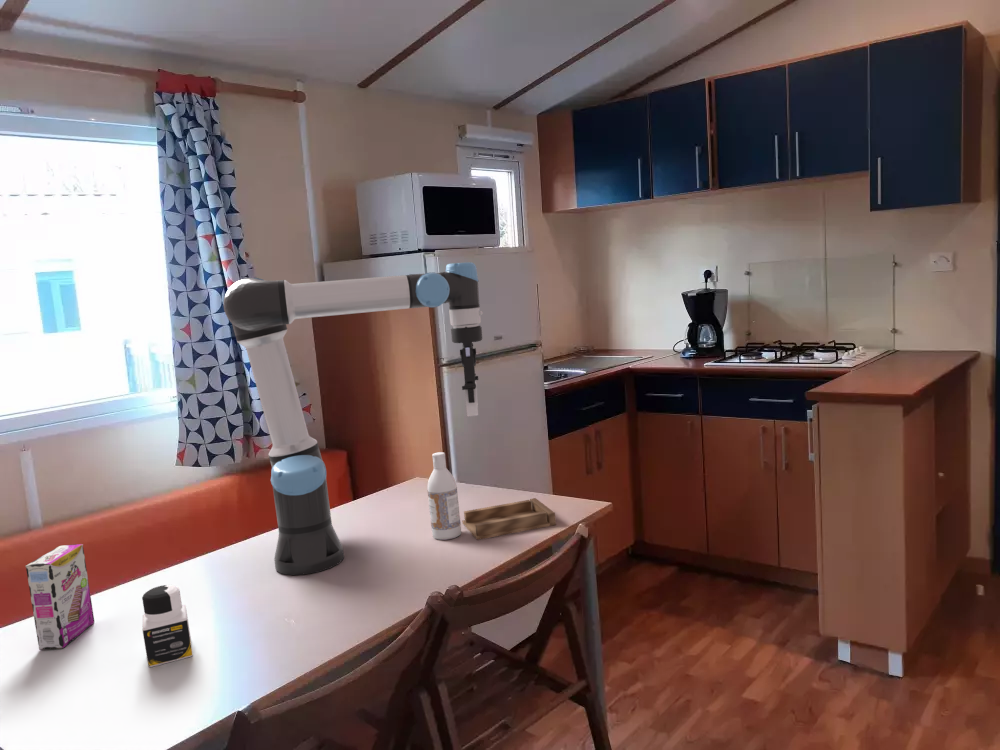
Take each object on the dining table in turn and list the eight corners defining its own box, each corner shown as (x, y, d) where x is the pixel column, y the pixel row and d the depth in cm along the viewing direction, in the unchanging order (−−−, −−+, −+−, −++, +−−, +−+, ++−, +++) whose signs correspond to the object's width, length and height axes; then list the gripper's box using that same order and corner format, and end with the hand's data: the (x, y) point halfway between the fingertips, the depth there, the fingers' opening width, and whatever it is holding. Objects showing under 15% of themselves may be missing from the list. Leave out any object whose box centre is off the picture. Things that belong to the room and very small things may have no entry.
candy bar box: (64, 649, 146) (49, 563, 144) (38, 651, 146) (23, 566, 144) (97, 622, 157) (83, 542, 155) (72, 624, 157) (58, 544, 155)
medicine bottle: (148, 668, 135) (137, 601, 134) (148, 651, 142) (138, 587, 140) (193, 657, 138) (182, 591, 136) (191, 640, 145) (181, 578, 143)
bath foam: (427, 535, 191) (419, 453, 188) (454, 528, 194) (445, 448, 191) (439, 542, 184) (430, 458, 182) (466, 535, 188) (458, 453, 185)
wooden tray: (476, 540, 184) (475, 527, 183) (462, 523, 197) (461, 510, 197) (555, 525, 189) (554, 512, 189) (536, 509, 203) (535, 497, 202)
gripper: (481, 328, 183) (488, 418, 186) (480, 321, 208) (487, 401, 211) (449, 330, 183) (456, 421, 186) (452, 323, 208) (458, 403, 211)
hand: (472, 411), depth 198 cm, fingers open, 13 cm apart
